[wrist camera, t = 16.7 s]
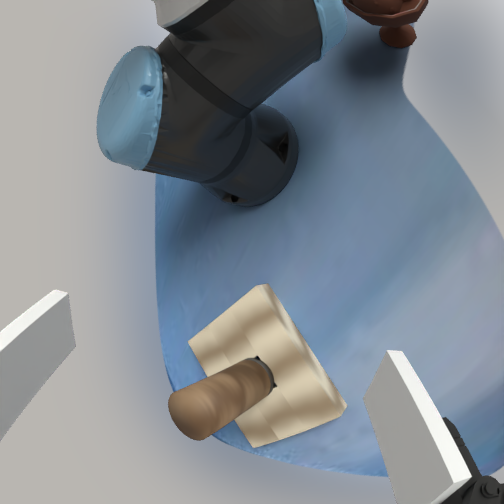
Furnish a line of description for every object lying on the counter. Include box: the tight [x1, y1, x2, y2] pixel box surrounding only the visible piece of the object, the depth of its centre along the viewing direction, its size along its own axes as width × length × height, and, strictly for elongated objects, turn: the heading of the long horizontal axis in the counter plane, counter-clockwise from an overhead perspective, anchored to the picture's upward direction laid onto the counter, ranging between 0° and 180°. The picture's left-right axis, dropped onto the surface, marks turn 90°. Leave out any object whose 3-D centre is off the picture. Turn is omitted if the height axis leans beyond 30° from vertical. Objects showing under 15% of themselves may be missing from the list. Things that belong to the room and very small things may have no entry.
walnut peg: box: [168, 358, 274, 440], centre depth 33 cm, size 6×6×16 cm
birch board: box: [188, 284, 347, 448], centre depth 39 cm, size 20×16×3 cm
